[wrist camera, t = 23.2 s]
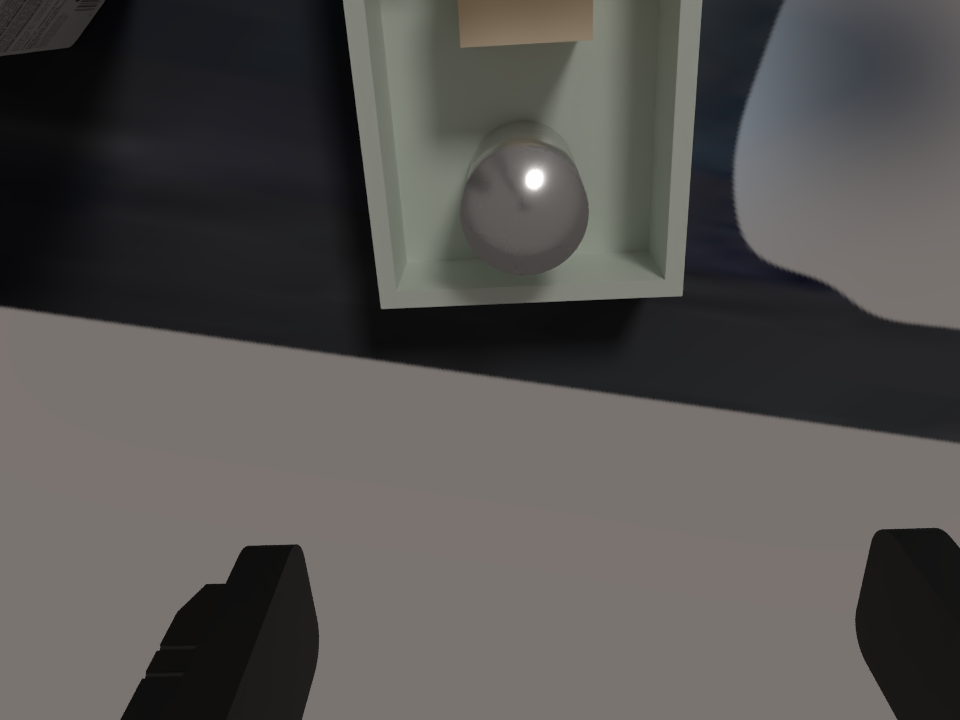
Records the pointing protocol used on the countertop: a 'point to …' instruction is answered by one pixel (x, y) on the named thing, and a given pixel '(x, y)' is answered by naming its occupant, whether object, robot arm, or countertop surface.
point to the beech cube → (524, 21)
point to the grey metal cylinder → (524, 200)
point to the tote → (535, 97)
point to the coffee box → (43, 24)
